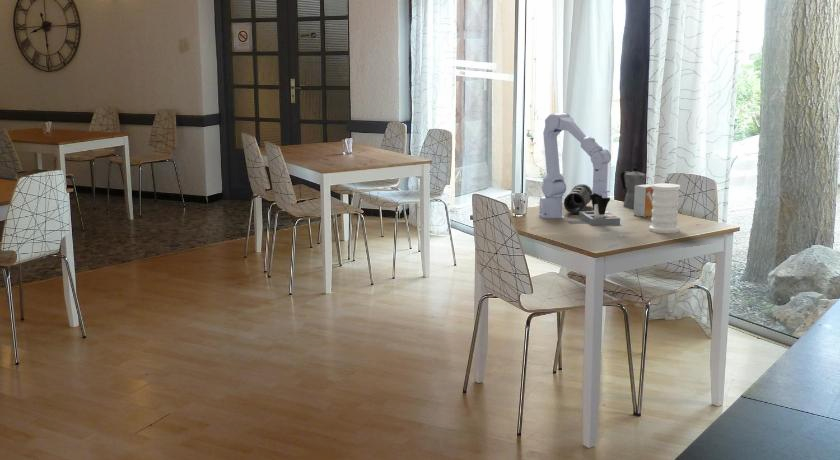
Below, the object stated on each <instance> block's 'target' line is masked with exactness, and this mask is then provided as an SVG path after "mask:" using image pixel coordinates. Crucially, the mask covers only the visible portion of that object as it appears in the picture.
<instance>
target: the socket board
mask: <svg viewBox="0 0 840 460" xmlns="http://www.w3.org/2000/svg"><path fill="white" fill-rule="evenodd" d="M578 217H579V218H580V220H583V221H584V222H586V223H587V224H589V225H590V226H604V225H605V226H610V225H611V226H612V225H616V226H617V225H621V218H620V217H618V216H617V215H615V214H613V213H612V212H610V211H608V210H606V211H605V214H604V218H594V210H585V211H584V210H582V211H579V213H578Z"/></svg>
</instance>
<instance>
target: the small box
mask: <svg viewBox="0 0 840 460" xmlns="http://www.w3.org/2000/svg"><path fill="white" fill-rule="evenodd" d="M652 194H653V189H652V184H648V183H644V185H638V186H635V194H634V208H633V216H635V215H636V217H640V216H643V217H642V218H647V217H646V216H648V217H652V209H653V205H652V201H653V196H652Z"/></svg>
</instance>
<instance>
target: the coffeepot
mask: <svg viewBox="0 0 840 460" xmlns="http://www.w3.org/2000/svg"><path fill="white" fill-rule="evenodd" d="M619 177H620V180H621V186H622V189H624V190H626V193H625V195H624V196H625V197H624V202H623V208H626V209H634V194H635V186H638V185H645V182H646V178H647V177H648V176H647V174H646V173H643V172H640V171H638V167H636V166H635V167H633V171H626V170H622V172H621V173H620V176H619Z"/></svg>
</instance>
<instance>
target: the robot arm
mask: <svg viewBox="0 0 840 460" xmlns="http://www.w3.org/2000/svg"><path fill="white" fill-rule="evenodd" d="M562 131H565V132H566V131H567V132H568V133H569V134H571V135H572V136H573V137H574V139H576V141H578V142H579V143H580V148H581V149H582V150H583V151H584V152H585V153H586V154H587V155H588V156H589V157H590V162H591V163H592V168H593V170H592V172H593V173H592V188H591V190H592V194H589V196H590V198H591V201H590V202H591V204H592V209H593V210H592V211H594V204H598V212H599V215H604V214H605V211H607V210H606V209H607V207H608V204H609V202H610V200H611V198H610V197H608V193H610V189H608V176H609V175H608V170H609V163H610V162H611V159H612V154H611V152H610V151H609V150H608V149H604V148H603V146H600V145H599V144H598V142H596V139H595V138H594V137H592V136H587V135H586V134H585V133H584V132H583V131H582V129H581V128H580V127H579V126H578V124H576V122H575V121H574V118H573V117H572V116H570V114H569V113H567V112H563V113H551V114H549V115H548V116H547V117H546V118H545V119H544V129H543V134H542V135H543V136H542V137H543V145H544V146H543V147H544V156H545V166H546V167H545V168H546V169H545V170H546V175H545V176H544V177H543V179H542V183H543V184H542V187H541V191H542V194H543V195H544V196H541V197H540V198H539V206H538V208H539V209H538V210H539V212H538V213H539V214H538V216H539V217H541V218H542V219H561V218H563V219H564V218H566V217H565V216H564V215H563V197H564V194H565V192H566V191H567V184H566V182H565V179H564V176H563V175H562V174H561V173H560V171H561V170H560V161H559V146H558V135H559V134H560V133H561V132H562Z"/></svg>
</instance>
